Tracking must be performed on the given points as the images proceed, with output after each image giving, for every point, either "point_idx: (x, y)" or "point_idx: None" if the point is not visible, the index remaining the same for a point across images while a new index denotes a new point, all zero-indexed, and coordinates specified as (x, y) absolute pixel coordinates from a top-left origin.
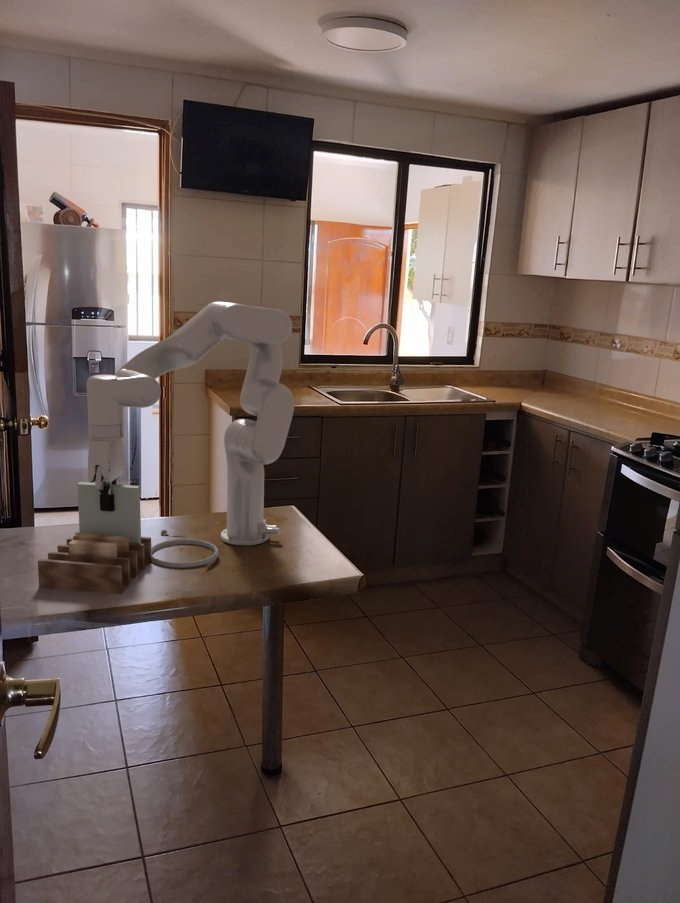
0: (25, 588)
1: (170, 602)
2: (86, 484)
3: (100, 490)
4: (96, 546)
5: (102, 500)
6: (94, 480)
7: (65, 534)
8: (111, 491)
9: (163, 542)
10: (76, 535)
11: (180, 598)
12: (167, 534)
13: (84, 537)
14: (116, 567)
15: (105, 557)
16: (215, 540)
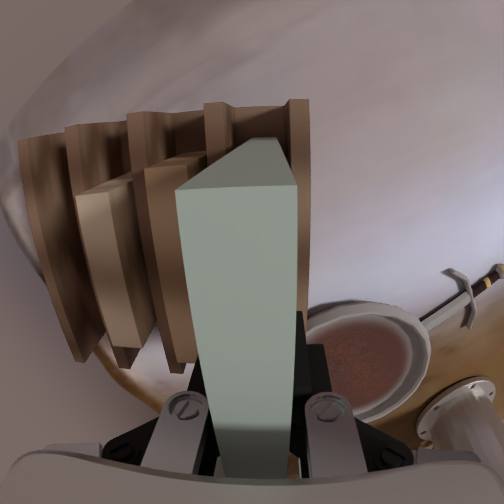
0: (76, 91)
1: (134, 391)
2: (194, 325)
3: (131, 441)
4: (99, 296)
5: (193, 375)
6: (145, 467)
7: (464, 12)
8: (213, 461)
9: (408, 323)
10: (155, 177)
11: (155, 401)
12: (484, 289)
13: (151, 218)
14: (73, 354)
15: (102, 315)
16: (452, 376)
